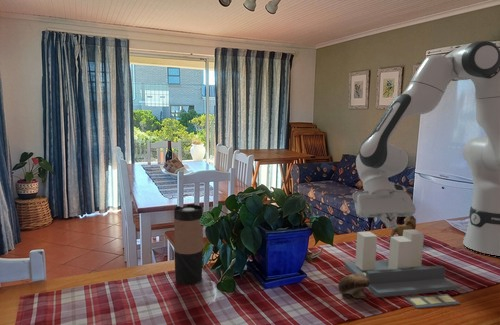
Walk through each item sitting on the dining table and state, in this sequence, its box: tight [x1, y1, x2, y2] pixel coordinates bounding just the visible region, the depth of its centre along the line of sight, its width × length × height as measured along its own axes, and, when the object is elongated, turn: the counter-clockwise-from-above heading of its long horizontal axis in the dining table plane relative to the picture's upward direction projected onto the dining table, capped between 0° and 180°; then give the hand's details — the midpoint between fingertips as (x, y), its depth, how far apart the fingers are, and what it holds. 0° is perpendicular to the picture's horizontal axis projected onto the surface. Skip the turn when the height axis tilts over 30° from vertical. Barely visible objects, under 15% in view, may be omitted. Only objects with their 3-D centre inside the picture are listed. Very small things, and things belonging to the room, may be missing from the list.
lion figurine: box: [388, 215, 417, 243], centre depth 126 cm, size 15×5×9 cm, turn 131°
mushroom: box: [337, 273, 370, 299], centre depth 87 cm, size 8×8×6 cm
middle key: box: [388, 235, 412, 269], centre depth 96 cm, size 4×4×10 cm
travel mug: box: [173, 204, 204, 286], centre depth 93 cm, size 8×8×20 cm
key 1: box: [354, 231, 378, 271], centre depth 99 cm, size 4×4×10 cm
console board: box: [344, 259, 458, 298], centre depth 97 cm, size 23×18×4 cm
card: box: [404, 293, 461, 310], centre depth 85 cm, size 12×4×1 cm, turn 101°
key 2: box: [402, 228, 425, 267], centre depth 102 cm, size 4×4×10 cm
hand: (392, 227), depth 111 cm, fingers closed
